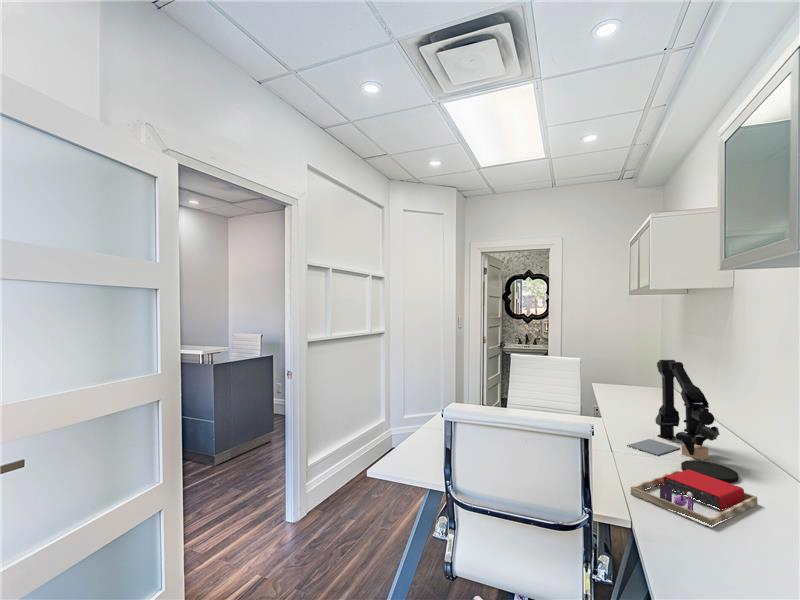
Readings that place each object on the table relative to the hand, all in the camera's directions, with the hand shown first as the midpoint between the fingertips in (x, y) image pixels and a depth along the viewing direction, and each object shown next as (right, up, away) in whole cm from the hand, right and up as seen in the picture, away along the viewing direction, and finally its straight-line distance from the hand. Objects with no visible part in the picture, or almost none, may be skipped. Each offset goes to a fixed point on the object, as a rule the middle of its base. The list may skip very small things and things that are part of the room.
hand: (694, 453), depth 172 cm
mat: (-11, -2, +11) cm, 16 cm away
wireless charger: (-8, -1, -18) cm, 19 cm away
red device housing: (-24, -1, -35) cm, 43 cm away
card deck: (0, -1, 0) cm, 1 cm away
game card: (-39, -1, -43) cm, 58 cm away
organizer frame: (-30, -1, -38) cm, 48 cm away
